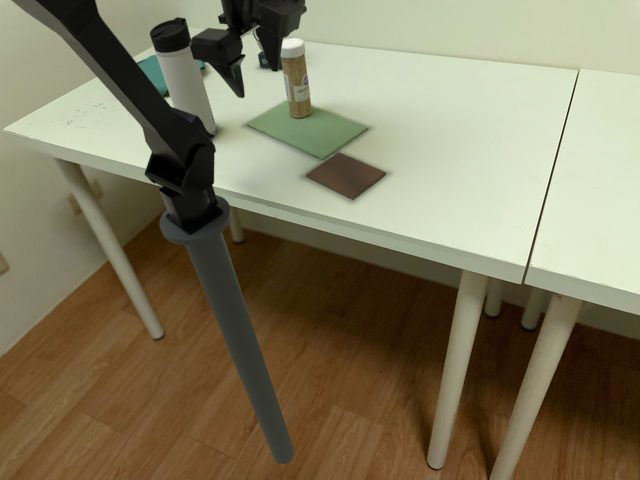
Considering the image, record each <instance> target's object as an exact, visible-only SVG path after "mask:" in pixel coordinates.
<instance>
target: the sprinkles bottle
mask: <svg viewBox="0 0 640 480" xmlns="http://www.w3.org/2000/svg"><path fill="white" fill-rule="evenodd" d="M280 57H281V61H282V67H283V69H282V75H283V81H284V82H283V83H284V89H285V92H286V100H287V101H288V104H289V114H290V116H292V117H294V118H303V117H307V116H308V115H310V114H311V113H312V107H311V106H312V100H311V91H310V90H311V89H310V83H309V82H310V81H309V77H308V76H309V75H308V70H307V61H306V45H305V41H304V40H303V39H302V38H297V37H293V38H291V37H290V38H286V39H283V43H282V49H281V56H280Z"/></svg>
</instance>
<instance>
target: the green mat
mask: <svg viewBox="0 0 640 480" xmlns="http://www.w3.org/2000/svg"><path fill="white" fill-rule="evenodd" d="M311 107H312V113H311V114H310V115H308V116H307V117H303V118H294V117H292V116H290V114H289V104H288V100H286V101H284V102H282V103H280V104H278V105H277V106H275V107H273V108H272V109H269V110H268V111H266V112H265V113H263V114H261V115H259V116H257V117H255V118H254V119H252V120H251V121H248V122H247V123H246V126H247V127H249V128H251V129H253V130H256V131H257V132H260V133H262V134H264V135H266V136H269V137H270V138H273V139H275V140H277V141H279V142H282V143H284V144H286V145H288V146H291V147H293V148H295V149H297V150H300V151H301V152H304V153H306V154H308V155H310V156H313V157H315V158H317V159H320V160H321V161H322V160H323V161H324V160H325V159H327V157H329V156H331V155H332V154H334V153H335V152H336V151H338V150H339V149H342V147H344V146H345V145H347V144H348V143H350V142H351V141H353V140H355V138H357V137H358V136H360V135H362V134H363V133H364V132H366V131H368V129H369V126H367V125H363V124H361V123H358V122H356V121H353V120H350V119H348V118H345V117H344V116H343V117H342V116H340V115H337V114H335V113H331V112H329V111H326V110H323V109H321V108H318V107H315V106H313V105H311Z"/></svg>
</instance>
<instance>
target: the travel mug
mask: <svg viewBox="0 0 640 480" xmlns="http://www.w3.org/2000/svg"><path fill="white" fill-rule="evenodd" d="M149 37H150V40H151V43H152V45H153V49H154V52H155V55H156V56H157V59H158V62H159V65H160V68H161V70H162V73H163V76H164V79H165V82H166V85H167V88H168V90H167V92H168V94H169V96H170V97H169V98H170V100H171V102H172V105H173V106H172V107H173V108H176V109H179V110H182V111H185V112H188V113H191V114H194V115H197V116H198V117H199V118H200V119H201V120H202V122H203V124H204V126H205V128H206V130H207V131H208V132H209V133H210V134H212V135H214V137H215V136H216V134H217V133H218V128H217V124H216V120H215V117H214V113H213V111H212V107H211V103H210V99H209V96H208V93H207V89H206V86H205V81H204V78H203V75H202V70H201V71H200V67H199V64H198V60H194V59H193V56H192V52H191V49H190V45H189V43H190V41H191V39H192V37H191V34H190V30H189V27H188V22H187V19H186V18H185V17H179V16H176V17H175V18H173V19H169V20H166V21H163V22H160V23H158V24H157V25H155V26H154V27H153V28H152V29H151V30H150V32H149Z"/></svg>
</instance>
